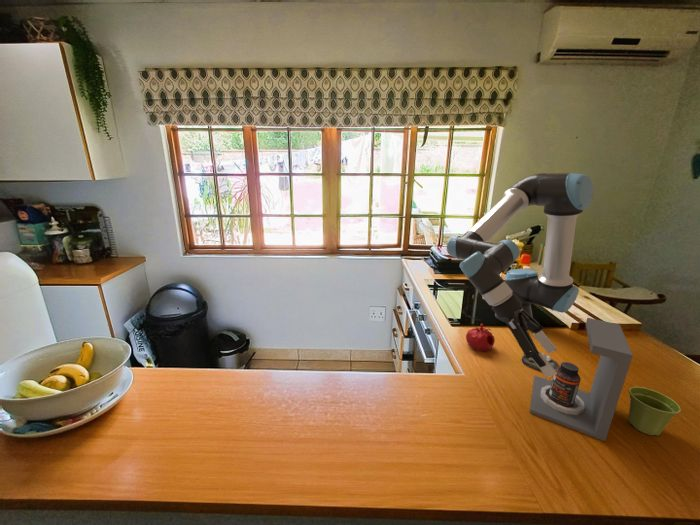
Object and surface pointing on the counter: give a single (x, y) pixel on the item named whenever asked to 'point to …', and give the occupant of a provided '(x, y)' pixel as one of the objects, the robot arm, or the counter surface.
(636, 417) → the plant pot
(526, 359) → the dark grey oval piece
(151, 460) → the counter surface
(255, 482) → the counter surface
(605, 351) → the seat stand
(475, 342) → the pomegranate
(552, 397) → the supplement bottle
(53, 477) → the counter surface
